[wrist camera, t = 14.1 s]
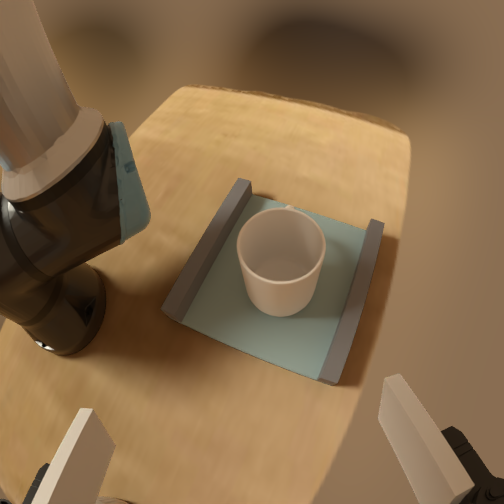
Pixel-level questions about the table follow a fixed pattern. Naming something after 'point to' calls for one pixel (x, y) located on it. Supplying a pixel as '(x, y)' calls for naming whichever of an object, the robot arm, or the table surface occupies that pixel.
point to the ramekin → (109, 501)
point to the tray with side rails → (266, 326)
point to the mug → (281, 259)
